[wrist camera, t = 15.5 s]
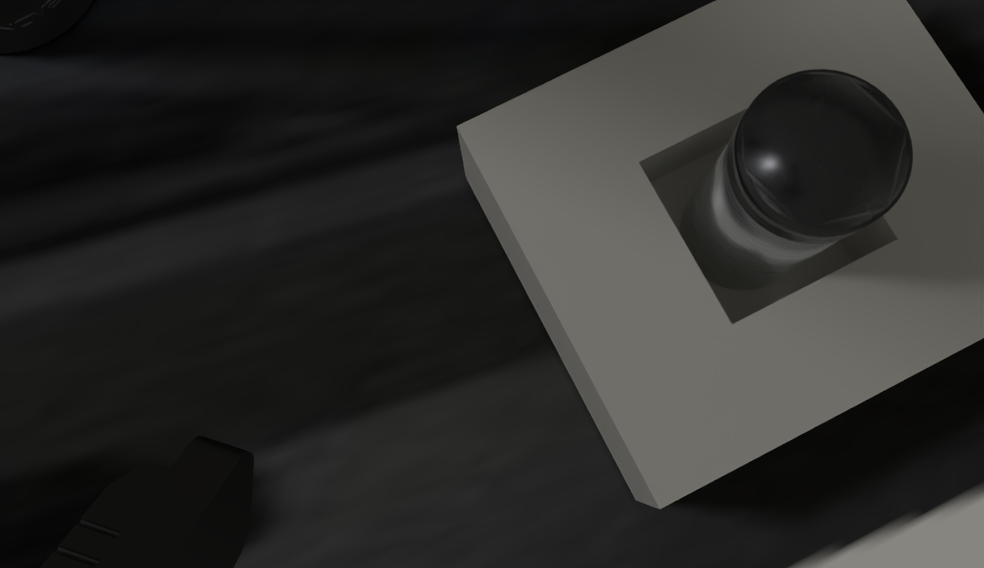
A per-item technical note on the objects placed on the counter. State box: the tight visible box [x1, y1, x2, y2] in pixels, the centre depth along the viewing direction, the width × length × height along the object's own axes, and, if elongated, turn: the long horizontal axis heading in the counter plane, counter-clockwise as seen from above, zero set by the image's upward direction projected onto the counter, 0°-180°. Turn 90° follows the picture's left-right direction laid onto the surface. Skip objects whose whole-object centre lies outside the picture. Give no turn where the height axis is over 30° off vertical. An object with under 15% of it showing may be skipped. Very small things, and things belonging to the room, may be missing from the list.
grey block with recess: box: [457, 0, 984, 509], centre depth 34 cm, size 16×18×6 cm
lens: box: [680, 69, 913, 291], centre depth 30 cm, size 5×5×10 cm
